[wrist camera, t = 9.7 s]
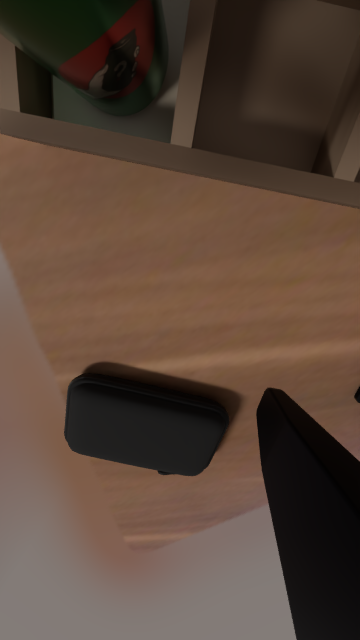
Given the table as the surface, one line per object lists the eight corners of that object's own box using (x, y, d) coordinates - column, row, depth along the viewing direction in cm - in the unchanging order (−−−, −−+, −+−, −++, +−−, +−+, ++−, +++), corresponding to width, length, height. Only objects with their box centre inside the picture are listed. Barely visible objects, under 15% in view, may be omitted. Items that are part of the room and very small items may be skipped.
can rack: (431, 223, 17) (493, 234, 14) (42, 144, 16) (0, 133, 13) (551, 17, 13) (687, -45, 9) (30, -110, 12) (-39, -234, 8)
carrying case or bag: (69, 438, 29) (200, 465, 30) (56, 464, 26) (201, 493, 27) (76, 360, 24) (233, 396, 25) (61, 382, 21) (238, 422, 23)
